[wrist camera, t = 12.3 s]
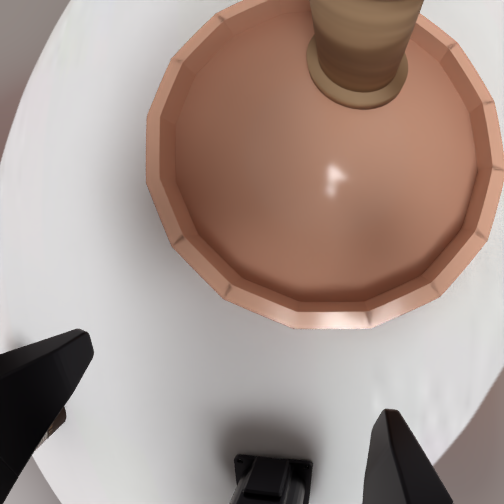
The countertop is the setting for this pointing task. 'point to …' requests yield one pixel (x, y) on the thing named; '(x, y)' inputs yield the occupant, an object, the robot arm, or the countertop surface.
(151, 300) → the countertop surface
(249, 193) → the tray
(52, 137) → the countertop surface
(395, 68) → the tan flared cylinder
